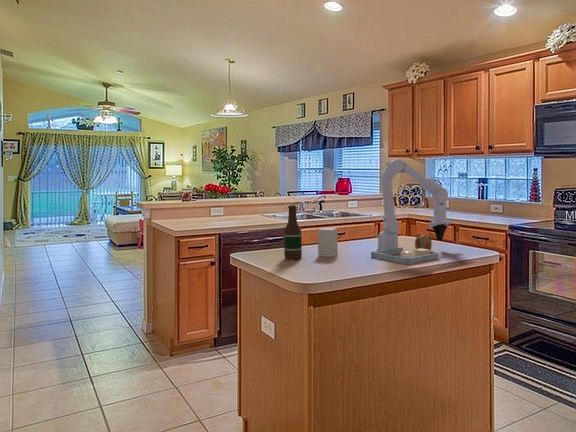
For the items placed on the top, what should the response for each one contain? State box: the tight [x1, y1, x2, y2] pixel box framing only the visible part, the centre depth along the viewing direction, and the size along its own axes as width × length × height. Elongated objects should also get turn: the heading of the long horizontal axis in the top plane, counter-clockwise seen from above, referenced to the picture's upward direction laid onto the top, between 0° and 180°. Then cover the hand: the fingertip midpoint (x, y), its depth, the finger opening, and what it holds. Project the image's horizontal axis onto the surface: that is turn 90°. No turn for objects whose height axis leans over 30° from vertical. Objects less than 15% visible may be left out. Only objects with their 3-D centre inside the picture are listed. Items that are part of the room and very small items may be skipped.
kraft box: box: [412, 248, 431, 257], centre depth 207 cm, size 5×5×4 cm
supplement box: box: [317, 227, 339, 258], centre depth 216 cm, size 7×7×13 cm
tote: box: [370, 246, 440, 265], centre depth 208 cm, size 21×20×2 cm
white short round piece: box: [400, 250, 415, 258], centre depth 202 cm, size 6×6×4 cm
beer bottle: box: [283, 204, 303, 260], centre depth 210 cm, size 8×8×24 cm
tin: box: [414, 234, 433, 251], centre depth 220 cm, size 15×3×8 cm, turn 143°
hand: (439, 240), depth 227 cm, fingers closed
